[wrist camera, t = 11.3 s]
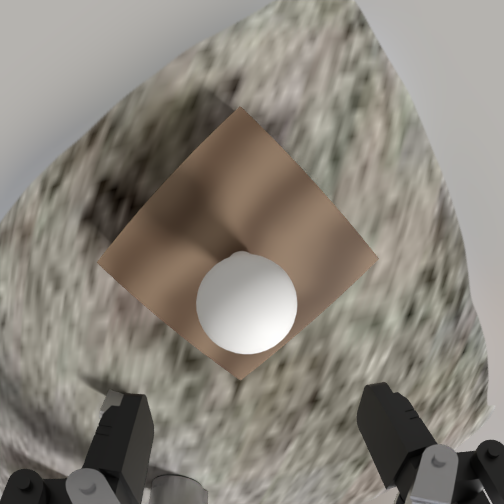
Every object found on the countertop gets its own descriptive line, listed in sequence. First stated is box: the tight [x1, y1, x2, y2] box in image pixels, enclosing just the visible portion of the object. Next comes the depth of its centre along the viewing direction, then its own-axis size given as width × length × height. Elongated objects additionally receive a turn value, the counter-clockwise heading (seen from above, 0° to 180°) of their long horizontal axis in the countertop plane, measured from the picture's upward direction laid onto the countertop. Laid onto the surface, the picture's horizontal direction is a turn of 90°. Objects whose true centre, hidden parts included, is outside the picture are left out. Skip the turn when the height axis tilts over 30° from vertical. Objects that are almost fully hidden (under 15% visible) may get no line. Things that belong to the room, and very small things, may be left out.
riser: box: [97, 107, 379, 380], centre depth 29 cm, size 18×18×5 cm
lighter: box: [100, 390, 124, 419], centre depth 33 cm, size 7×2×8 cm, turn 71°
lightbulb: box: [196, 251, 297, 354], centre depth 22 cm, size 6×6×11 cm
